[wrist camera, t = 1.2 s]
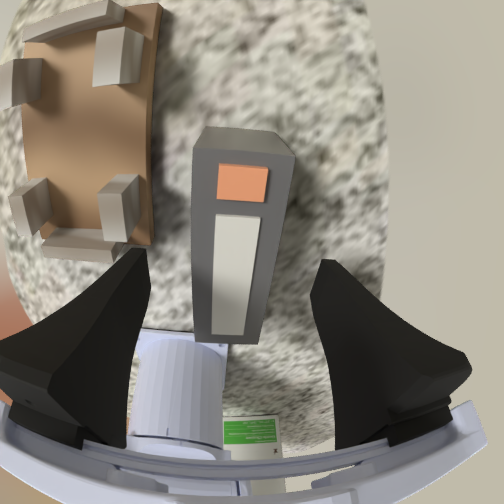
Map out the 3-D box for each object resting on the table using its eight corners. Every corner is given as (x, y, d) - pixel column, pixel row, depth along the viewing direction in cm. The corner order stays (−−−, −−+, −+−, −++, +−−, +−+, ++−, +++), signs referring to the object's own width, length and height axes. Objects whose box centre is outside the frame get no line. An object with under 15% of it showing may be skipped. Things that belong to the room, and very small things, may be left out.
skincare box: (278, 412, 32) (292, 516, 19) (276, 426, 36) (287, 515, 23) (216, 416, 32) (220, 520, 19) (222, 430, 35) (226, 518, 23)
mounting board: (154, 236, 16) (139, 273, 13) (49, 231, 15) (23, 261, 12) (162, 7, 8) (142, -13, 5) (36, 37, 7) (-3, 36, 4)
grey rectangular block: (251, 284, 18) (258, 348, 14) (200, 281, 18) (194, 346, 14) (274, 131, 13) (297, 158, 8) (206, 126, 12) (192, 149, 8)
